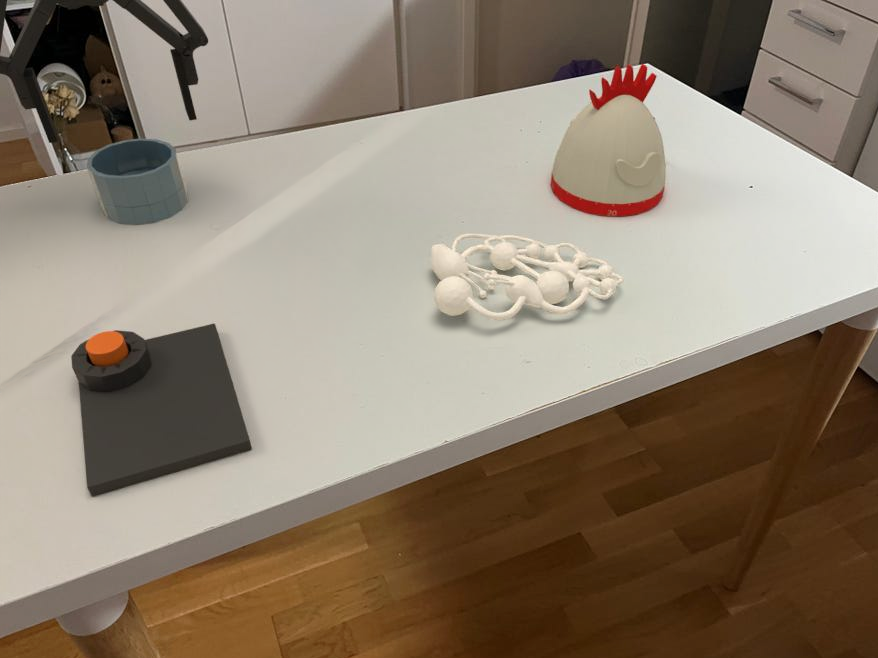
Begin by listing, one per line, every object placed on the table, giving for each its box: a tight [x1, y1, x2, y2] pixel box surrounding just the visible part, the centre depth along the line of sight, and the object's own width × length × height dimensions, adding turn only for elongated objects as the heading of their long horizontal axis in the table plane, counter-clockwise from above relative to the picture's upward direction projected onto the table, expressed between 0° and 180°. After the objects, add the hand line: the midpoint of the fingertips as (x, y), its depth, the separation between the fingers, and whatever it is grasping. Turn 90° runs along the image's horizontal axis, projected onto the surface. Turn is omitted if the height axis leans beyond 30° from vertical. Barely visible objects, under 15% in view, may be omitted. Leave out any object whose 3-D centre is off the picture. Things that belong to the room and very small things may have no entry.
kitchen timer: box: [550, 63, 667, 217], centre depth 89 cm, size 14×14×15 cm
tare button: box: [86, 330, 128, 367], centre depth 64 cm, size 3×3×2 cm
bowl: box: [86, 138, 189, 226], centre depth 84 cm, size 9×9×8 cm
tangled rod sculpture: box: [429, 233, 625, 321], centre depth 77 cm, size 19×14×4 cm
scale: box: [70, 323, 253, 497], centre depth 63 cm, size 16×12×3 cm
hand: (124, 126), depth 79 cm, fingers open, 13 cm apart
